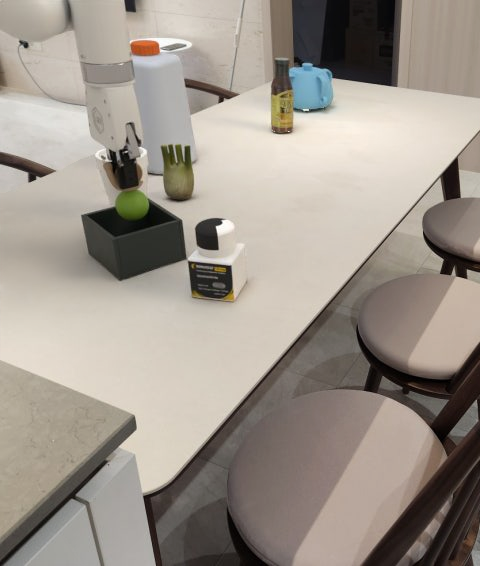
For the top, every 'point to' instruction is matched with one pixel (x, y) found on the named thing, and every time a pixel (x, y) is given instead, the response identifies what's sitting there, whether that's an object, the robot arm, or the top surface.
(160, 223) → the bin
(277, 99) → the sauce bottle
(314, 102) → the decorative pot
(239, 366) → the top surface
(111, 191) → the foam cup
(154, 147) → the plastic bottle
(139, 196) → the snail figurine
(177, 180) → the fennel bulb
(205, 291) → the medicine bottle
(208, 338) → the top surface
